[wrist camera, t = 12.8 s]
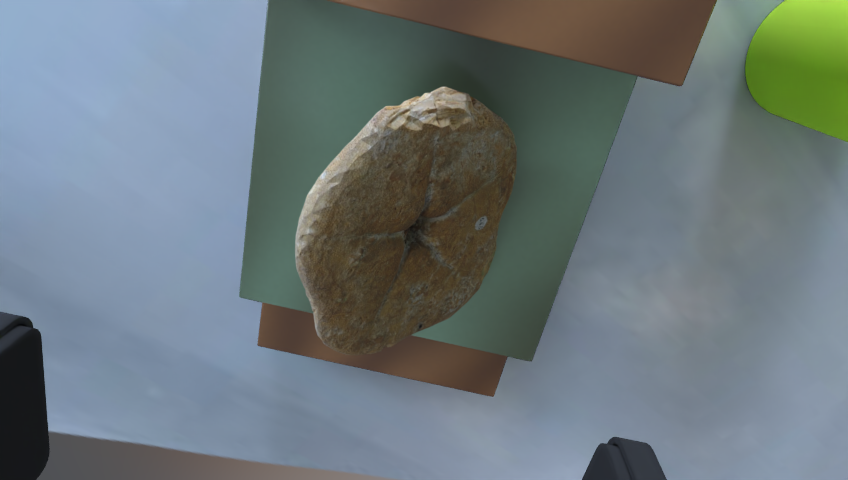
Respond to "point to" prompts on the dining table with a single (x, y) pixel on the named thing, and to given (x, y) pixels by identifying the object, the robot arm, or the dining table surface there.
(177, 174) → the dining table surface
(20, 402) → the robot arm
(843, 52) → the soap dispenser
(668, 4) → the step shelf
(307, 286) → the fossil
